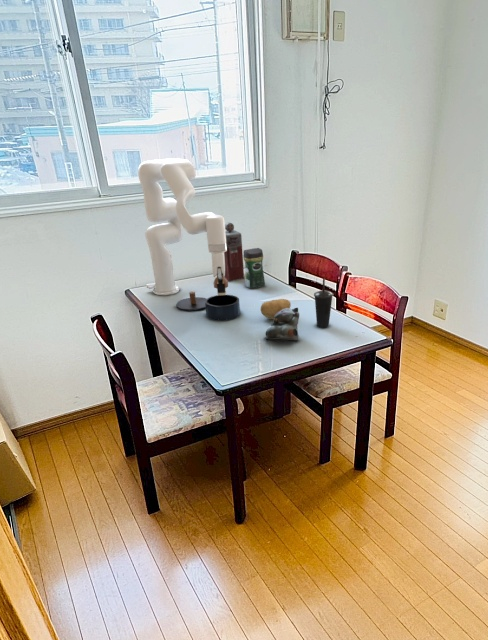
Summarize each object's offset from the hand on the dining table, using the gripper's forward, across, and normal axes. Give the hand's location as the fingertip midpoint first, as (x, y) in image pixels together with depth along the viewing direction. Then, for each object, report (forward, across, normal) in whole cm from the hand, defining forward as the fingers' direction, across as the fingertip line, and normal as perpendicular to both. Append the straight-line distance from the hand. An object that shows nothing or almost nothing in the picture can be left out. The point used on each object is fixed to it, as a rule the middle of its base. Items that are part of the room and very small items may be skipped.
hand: (221, 289), depth 211 cm
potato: (+12, +8, +22) cm, 26 cm away
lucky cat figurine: (+12, +30, +22) cm, 39 cm away
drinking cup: (+12, +20, +40) cm, 46 cm away
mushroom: (+2, 0, 0) cm, 2 cm away
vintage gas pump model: (+11, -51, +6) cm, 53 cm away
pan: (+11, 0, 0) cm, 11 cm away
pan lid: (+10, -14, -14) cm, 22 cm away
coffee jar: (+11, -36, +16) cm, 41 cm away
